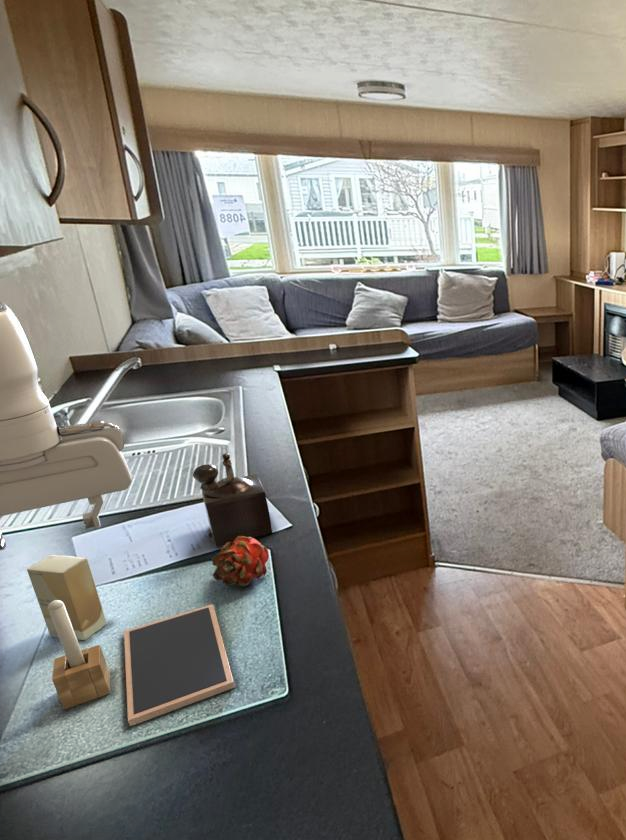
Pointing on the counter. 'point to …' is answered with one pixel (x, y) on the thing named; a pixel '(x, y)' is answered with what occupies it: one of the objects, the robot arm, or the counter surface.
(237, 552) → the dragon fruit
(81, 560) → the cosmetic box
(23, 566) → the counter surface
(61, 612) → the stylus
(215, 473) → the brown manual coffee grinder
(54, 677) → the pen stand
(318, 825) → the counter surface
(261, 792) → the counter surface
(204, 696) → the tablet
